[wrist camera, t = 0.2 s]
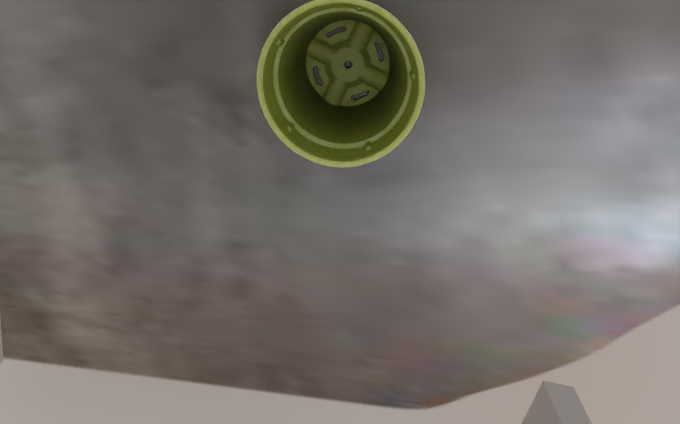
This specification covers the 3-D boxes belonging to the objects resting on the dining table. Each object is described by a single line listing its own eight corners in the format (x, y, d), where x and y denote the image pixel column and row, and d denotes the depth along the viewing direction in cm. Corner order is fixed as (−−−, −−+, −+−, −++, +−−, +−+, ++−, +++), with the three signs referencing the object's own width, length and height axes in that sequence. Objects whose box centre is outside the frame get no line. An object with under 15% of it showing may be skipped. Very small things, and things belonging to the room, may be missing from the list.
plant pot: (314, 147, 39) (299, 189, 32) (258, 26, 36) (227, 40, 28) (431, 100, 37) (448, 132, 30) (384, -32, 34) (388, -36, 26)
